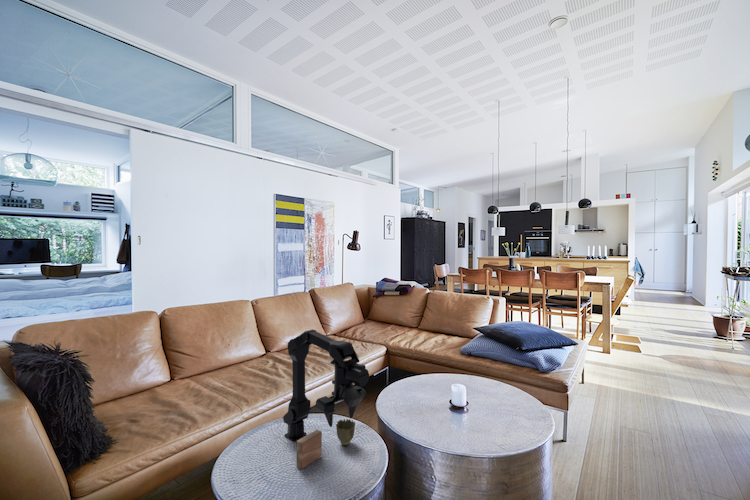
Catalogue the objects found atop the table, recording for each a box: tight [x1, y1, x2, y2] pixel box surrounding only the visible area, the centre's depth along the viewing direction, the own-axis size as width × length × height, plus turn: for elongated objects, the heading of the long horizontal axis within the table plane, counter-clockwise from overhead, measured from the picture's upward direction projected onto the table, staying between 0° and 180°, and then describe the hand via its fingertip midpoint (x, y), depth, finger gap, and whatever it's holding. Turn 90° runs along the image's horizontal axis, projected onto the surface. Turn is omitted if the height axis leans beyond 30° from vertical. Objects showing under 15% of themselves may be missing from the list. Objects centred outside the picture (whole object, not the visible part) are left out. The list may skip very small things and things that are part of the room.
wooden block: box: [295, 429, 323, 471], centre depth 117 cm, size 3×10×9 cm, turn 144°
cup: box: [335, 418, 356, 447], centre depth 128 cm, size 8×7×8 cm
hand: (341, 421), depth 118 cm, fingers open, 9 cm apart
